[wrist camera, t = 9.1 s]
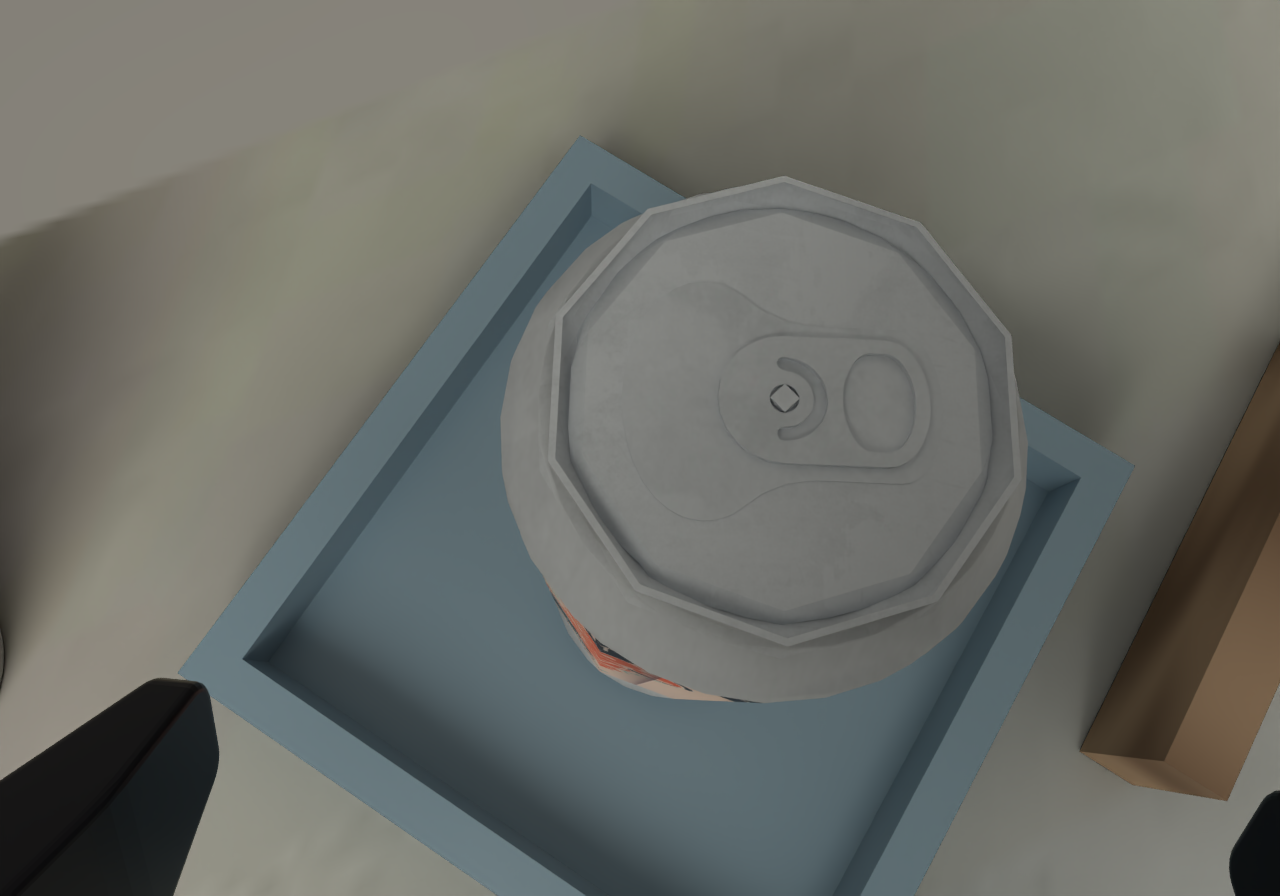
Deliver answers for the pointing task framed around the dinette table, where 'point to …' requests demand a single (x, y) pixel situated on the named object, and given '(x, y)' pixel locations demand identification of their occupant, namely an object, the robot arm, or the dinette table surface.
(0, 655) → the container
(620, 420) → the beer can
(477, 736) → the tray
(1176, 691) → the frame
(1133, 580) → the dinette table surface
